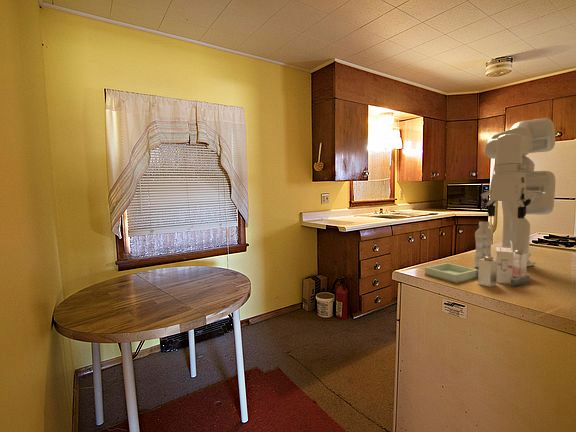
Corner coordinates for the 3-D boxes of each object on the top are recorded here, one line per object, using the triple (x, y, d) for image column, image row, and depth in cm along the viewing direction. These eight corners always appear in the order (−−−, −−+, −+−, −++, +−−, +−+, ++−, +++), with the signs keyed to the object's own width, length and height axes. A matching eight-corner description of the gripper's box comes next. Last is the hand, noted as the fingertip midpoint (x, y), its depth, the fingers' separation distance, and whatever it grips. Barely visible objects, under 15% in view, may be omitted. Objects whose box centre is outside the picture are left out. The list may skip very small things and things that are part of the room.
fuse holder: (502, 271, 121) (503, 247, 120) (539, 279, 110) (540, 253, 109) (466, 280, 110) (467, 254, 110) (503, 290, 99) (504, 261, 99)
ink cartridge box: (494, 276, 115) (495, 239, 114) (509, 278, 113) (511, 239, 111) (495, 282, 108) (497, 242, 107) (512, 284, 105) (514, 243, 104)
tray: (446, 269, 126) (447, 262, 125) (478, 277, 114) (478, 269, 114) (424, 274, 119) (425, 267, 119) (455, 283, 108) (455, 275, 108)
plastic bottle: (492, 268, 127) (494, 221, 125) (489, 271, 122) (491, 223, 120) (475, 265, 131) (477, 220, 130) (471, 268, 126) (473, 222, 125)
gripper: (542, 168, 101) (539, 218, 102) (488, 171, 116) (486, 215, 117) (531, 167, 97) (528, 219, 99) (477, 171, 113) (475, 216, 114)
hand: (505, 217), depth 108 cm, fingers open, 9 cm apart
